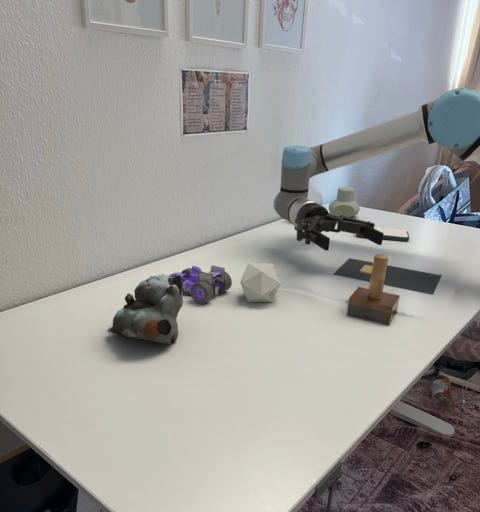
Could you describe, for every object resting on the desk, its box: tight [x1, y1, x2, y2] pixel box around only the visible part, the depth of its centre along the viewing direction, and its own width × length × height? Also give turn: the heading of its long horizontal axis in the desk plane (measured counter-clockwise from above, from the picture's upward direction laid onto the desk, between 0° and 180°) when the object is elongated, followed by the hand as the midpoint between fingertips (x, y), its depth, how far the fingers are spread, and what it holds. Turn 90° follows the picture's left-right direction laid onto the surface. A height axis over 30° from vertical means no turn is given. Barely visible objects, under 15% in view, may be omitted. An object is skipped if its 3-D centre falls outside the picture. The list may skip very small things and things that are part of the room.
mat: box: [332, 257, 442, 296], centre depth 120 cm, size 24×14×1 cm, turn 61°
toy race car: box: [168, 265, 233, 305], centre depth 109 cm, size 10×15×6 cm, turn 58°
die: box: [239, 263, 282, 303], centre depth 106 cm, size 8×9×10 cm
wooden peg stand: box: [346, 253, 401, 326], centre depth 99 cm, size 9×7×13 cm
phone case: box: [356, 226, 410, 242], centre depth 153 cm, size 9×2×16 cm
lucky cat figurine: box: [106, 274, 184, 345], centre depth 90 cm, size 15×12×14 cm
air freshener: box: [328, 186, 361, 218], centre depth 171 cm, size 11×8×10 cm
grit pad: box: [359, 265, 373, 275], centre depth 122 cm, size 5×5×1 cm
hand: (355, 241), depth 104 cm, fingers open, 13 cm apart
